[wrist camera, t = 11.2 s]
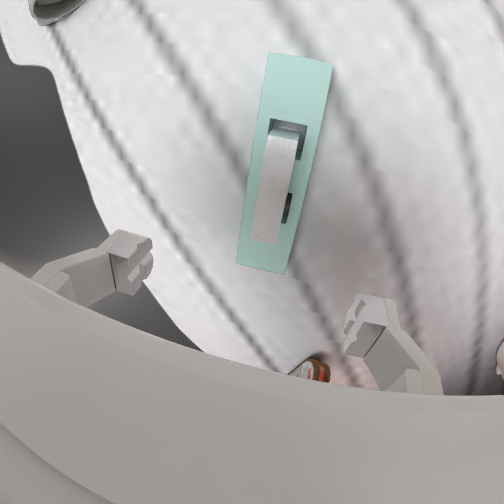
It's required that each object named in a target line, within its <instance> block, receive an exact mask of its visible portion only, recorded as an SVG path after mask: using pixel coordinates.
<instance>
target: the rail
mask: <svg viewBox="0 0 504 504" xmlns="http://www.w3.org/2000/svg"><path fill="white" fill-rule="evenodd" d="M332 69H333V64H330V63H326V62H322V61H317V60H313V59H308V58H303V57H298V56H292V55H286V54H280V53H273V52H268V57H267V63H266V69H265V75H264V81H263V87H262V93H261V99H260V105H259V111H258V117H257V123H256V130H255V136H254V142H253V149H252V155H251V162H250V168H249V175H248V181H247V188H246V195H245V201H244V208H243V215H242V222H241V229H240V236H239V243H238V250H237V257H236V264H240V265H245V266H249V267H253V268H257V269H262V270H266V271H270V272H275V273H279V274H283V275H284V274H285V270H286V266H287V263H288V259H289V255H290V252H291V248H292V244H293V240H294V236H295V232H296V229H297V225H298V221H299V217H300V213H301V209H302V205H303V201H304V197H305V193H306V188H307V184H308V180H309V176H310V172H311V167H312V163H313V159H314V154H315V150H316V146H317V141H318V137H319V132H320V127H321V123H322V118H323V113H324V109H325V104H326V99H327V94H328V89H329V84H330V79H331V74H332ZM274 119H278V120H283V121H288V122H293V123H297V124H302V125H306V126H307V129H306V134H305V138H304V143H303V148H302V153H299V152H296V155H295V160H294V165H293V169H292V174H291V179H290V183H289V188H288V193H291V194H292V198H291V203H290V207H289V211H287V210H284V211H283V216H282V220H281V224H280V229H279V233H278V237H277V242H276V245H272V244H267V243H263V242H259V241H254V240H250V235H251V229H252V223H253V217H254V211H255V205H256V199H257V193H258V187H259V181H260V176H261V170H262V164H263V158H264V152H265V146H266V140H267V135H268V134H269V133H270V132H271V131H272V127H273V121H274Z"/></svg>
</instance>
